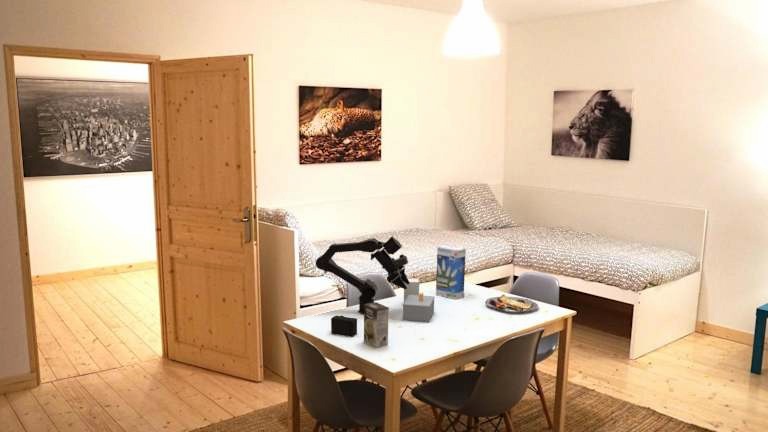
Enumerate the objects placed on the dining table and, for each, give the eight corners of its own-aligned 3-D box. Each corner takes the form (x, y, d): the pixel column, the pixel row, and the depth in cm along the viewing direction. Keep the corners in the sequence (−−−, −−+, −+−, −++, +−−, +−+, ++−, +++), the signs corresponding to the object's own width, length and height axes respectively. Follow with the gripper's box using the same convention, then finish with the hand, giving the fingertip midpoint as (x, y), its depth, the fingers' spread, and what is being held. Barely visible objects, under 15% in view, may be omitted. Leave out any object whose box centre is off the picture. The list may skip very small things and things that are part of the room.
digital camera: (358, 333, 276) (358, 317, 275) (353, 337, 271) (353, 321, 270) (337, 330, 280) (337, 314, 279) (331, 333, 275) (331, 317, 274)
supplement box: (419, 307, 315) (419, 282, 313) (403, 307, 315) (404, 281, 313) (418, 303, 322) (418, 278, 320) (403, 302, 322) (404, 278, 320)
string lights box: (435, 295, 337) (436, 246, 333) (443, 292, 343) (444, 244, 339) (456, 299, 328) (458, 250, 325) (464, 296, 334) (466, 247, 330)
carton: (402, 320, 294) (402, 305, 293) (409, 310, 310) (409, 296, 308) (428, 322, 291) (429, 307, 290) (433, 312, 307) (434, 298, 306)
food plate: (476, 305, 318) (476, 298, 318) (505, 297, 334) (505, 291, 333) (517, 318, 300) (518, 311, 300) (546, 309, 316) (547, 302, 315)
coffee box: (363, 342, 265) (363, 303, 263) (376, 339, 269) (376, 301, 267) (375, 348, 258) (375, 309, 256) (388, 345, 262) (389, 306, 259)
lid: (402, 305, 293) (402, 297, 292) (408, 295, 309) (409, 288, 308) (429, 307, 290) (429, 299, 290) (434, 297, 306) (434, 289, 305)
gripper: (395, 254, 290) (418, 280, 290) (401, 246, 308) (422, 270, 308) (377, 269, 292) (399, 295, 292) (384, 260, 310) (405, 285, 310)
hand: (407, 286), depth 301 cm, fingers open, 9 cm apart
